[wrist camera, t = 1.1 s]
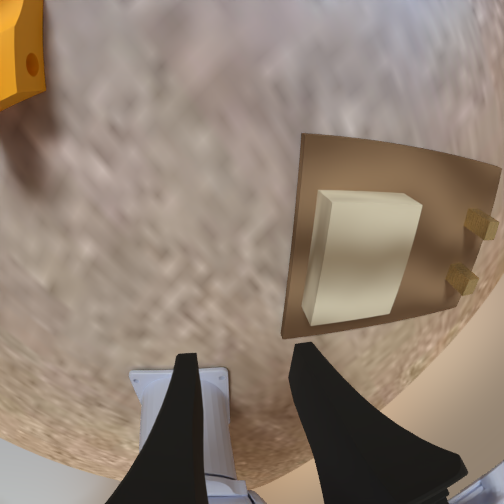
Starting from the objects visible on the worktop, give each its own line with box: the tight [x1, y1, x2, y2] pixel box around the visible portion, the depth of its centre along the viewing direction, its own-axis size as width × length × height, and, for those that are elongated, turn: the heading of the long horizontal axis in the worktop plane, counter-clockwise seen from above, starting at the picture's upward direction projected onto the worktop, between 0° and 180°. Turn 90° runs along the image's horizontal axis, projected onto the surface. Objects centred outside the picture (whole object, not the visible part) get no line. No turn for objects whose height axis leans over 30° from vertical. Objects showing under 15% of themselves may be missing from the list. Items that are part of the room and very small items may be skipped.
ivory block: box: [302, 190, 423, 326], centre depth 17 cm, size 8×6×2 cm
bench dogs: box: [445, 208, 499, 296], centre depth 19 cm, size 6×2×2 cm, turn 178°
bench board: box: [281, 133, 502, 339], centre depth 19 cm, size 14×18×1 cm
